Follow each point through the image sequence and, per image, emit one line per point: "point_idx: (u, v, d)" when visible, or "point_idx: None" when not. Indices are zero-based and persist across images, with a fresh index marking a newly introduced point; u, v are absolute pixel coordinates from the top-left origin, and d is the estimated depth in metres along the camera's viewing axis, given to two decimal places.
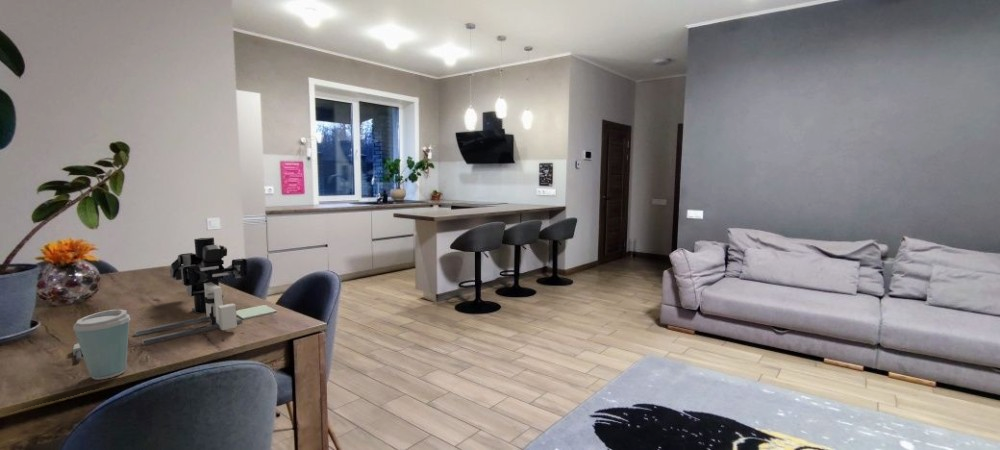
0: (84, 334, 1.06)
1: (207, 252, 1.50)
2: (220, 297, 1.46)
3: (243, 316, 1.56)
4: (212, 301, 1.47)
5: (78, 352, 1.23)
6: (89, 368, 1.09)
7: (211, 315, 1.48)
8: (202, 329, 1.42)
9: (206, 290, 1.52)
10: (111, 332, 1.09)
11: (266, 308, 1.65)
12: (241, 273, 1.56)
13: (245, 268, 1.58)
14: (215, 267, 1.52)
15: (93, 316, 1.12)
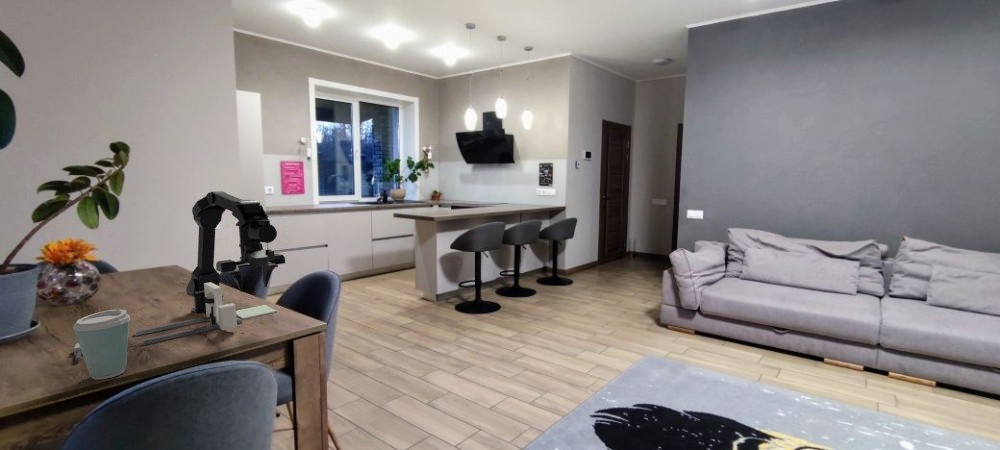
0: (84, 334, 1.06)
1: None
2: (220, 297, 1.46)
3: (243, 316, 1.56)
4: (212, 301, 1.47)
5: (78, 352, 1.23)
6: (89, 368, 1.09)
7: (211, 315, 1.48)
8: (202, 329, 1.42)
9: (206, 290, 1.52)
10: (111, 332, 1.09)
11: (266, 308, 1.65)
12: None
13: None
14: None
15: (93, 316, 1.12)
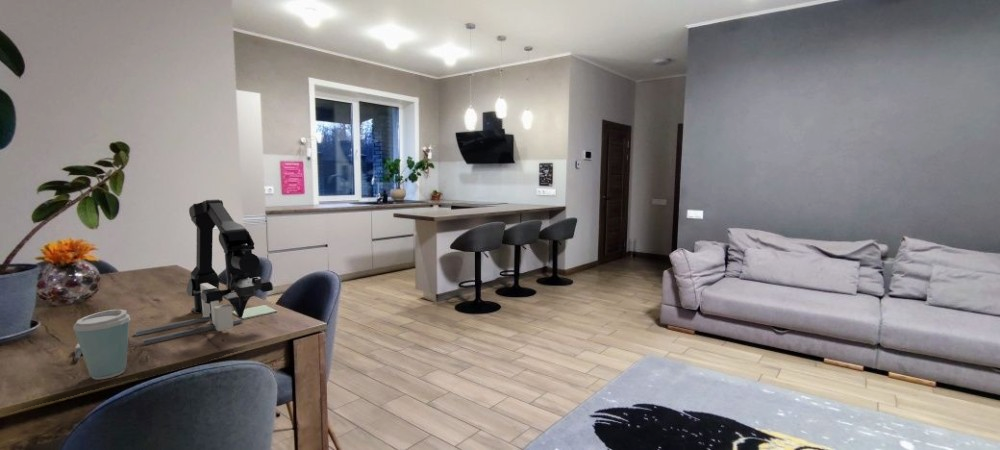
0: (84, 333, 1.06)
1: None
2: None
3: (243, 316, 1.56)
4: None
5: (78, 351, 1.23)
6: (89, 368, 1.09)
7: (211, 315, 1.48)
8: (202, 329, 1.42)
9: None
10: (111, 332, 1.09)
11: (266, 308, 1.65)
12: None
13: None
14: None
15: (93, 316, 1.12)
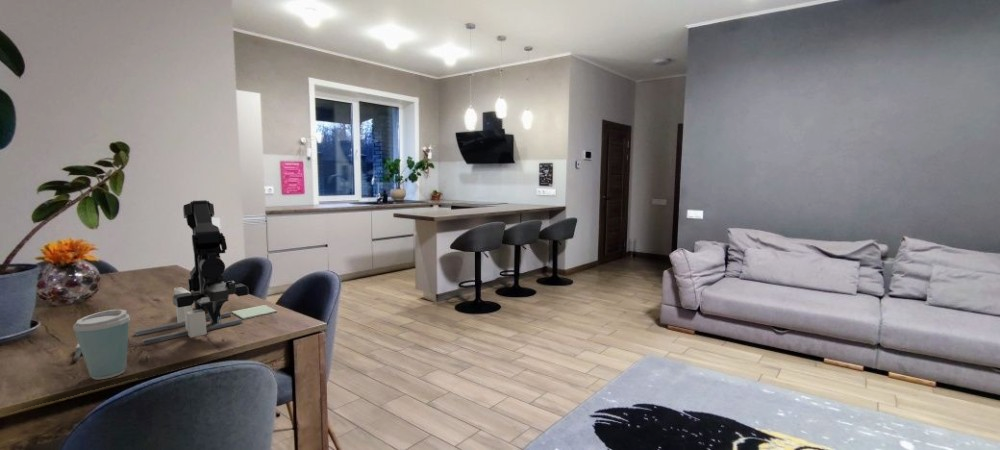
0: (84, 334, 1.06)
1: None
2: None
3: (243, 316, 1.56)
4: None
5: (78, 351, 1.23)
6: (89, 368, 1.09)
7: None
8: None
9: None
10: (111, 332, 1.09)
11: (266, 308, 1.65)
12: None
13: None
14: None
15: (93, 316, 1.12)
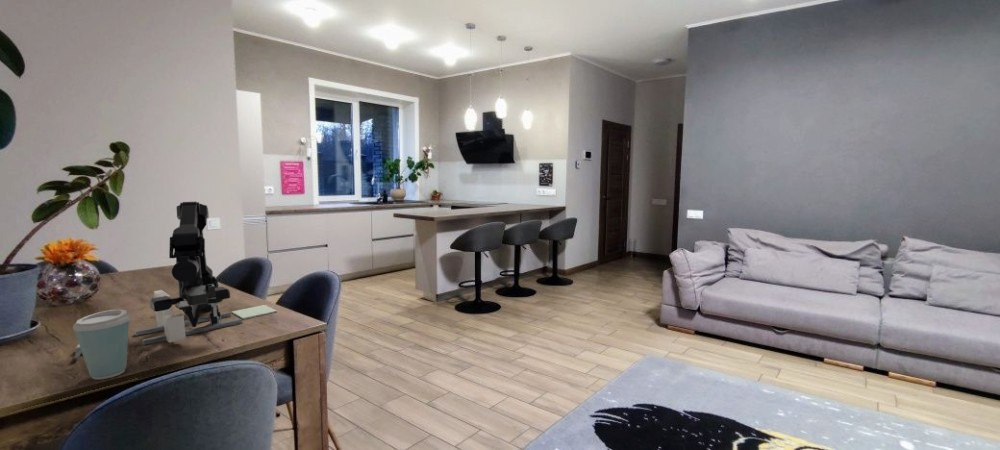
0: (84, 333, 1.06)
1: None
2: None
3: (243, 316, 1.56)
4: (212, 301, 1.47)
5: (78, 351, 1.23)
6: (89, 368, 1.09)
7: (211, 315, 1.48)
8: (202, 329, 1.42)
9: None
10: (111, 332, 1.09)
11: (266, 308, 1.65)
12: None
13: None
14: None
15: (93, 316, 1.12)
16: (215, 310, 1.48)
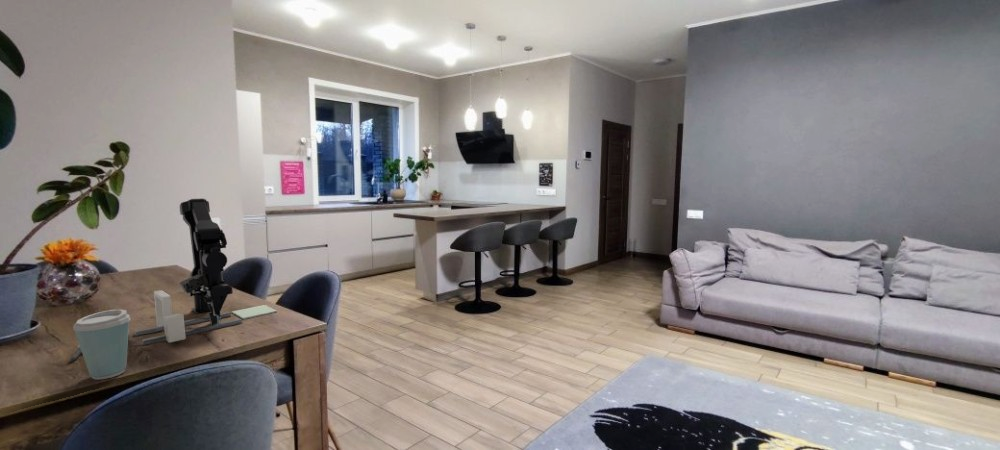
0: (84, 333, 1.06)
1: None
2: (169, 306, 1.36)
3: (243, 316, 1.56)
4: None
5: (78, 350, 1.24)
6: (89, 368, 1.09)
7: (211, 314, 1.48)
8: (202, 329, 1.42)
9: (156, 298, 1.42)
10: (111, 332, 1.09)
11: (266, 308, 1.65)
12: (223, 294, 1.47)
13: None
14: None
15: (93, 316, 1.12)
16: None
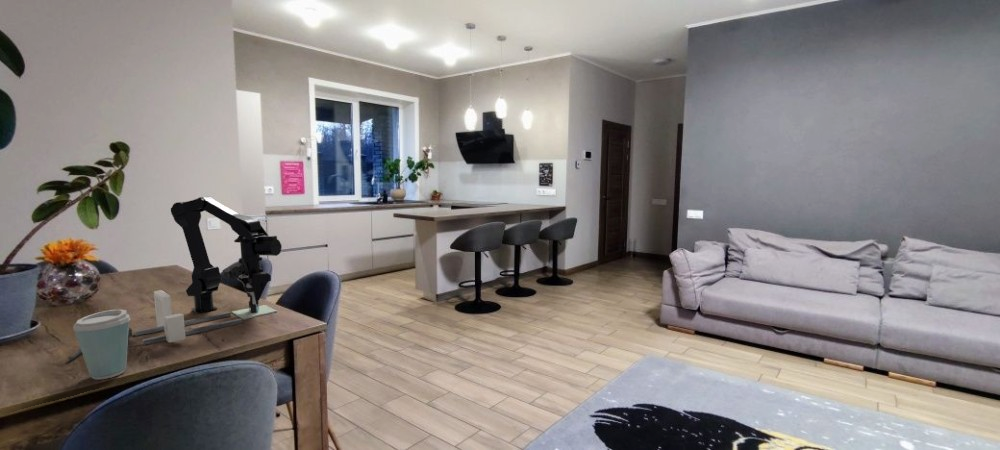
0: (84, 334, 1.06)
1: None
2: (169, 306, 1.36)
3: (243, 316, 1.56)
4: (251, 290, 1.58)
5: (79, 349, 1.25)
6: (89, 368, 1.09)
7: (250, 303, 1.60)
8: (202, 329, 1.42)
9: (156, 298, 1.42)
10: (111, 332, 1.09)
11: (266, 308, 1.65)
12: (263, 282, 1.58)
13: None
14: (248, 276, 1.59)
15: (93, 316, 1.12)
16: (254, 298, 1.60)
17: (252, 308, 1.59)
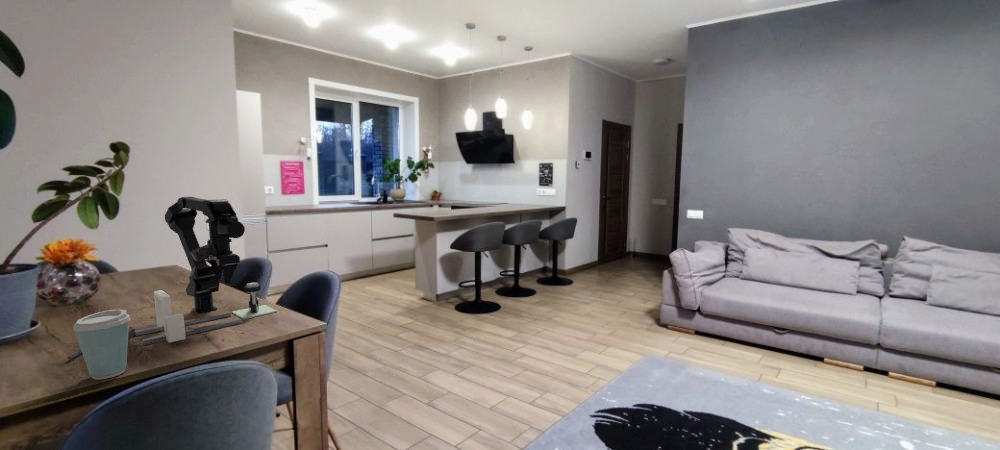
0: (84, 334, 1.06)
1: None
2: (169, 306, 1.36)
3: (243, 316, 1.56)
4: (251, 290, 1.58)
5: (80, 349, 1.25)
6: (89, 368, 1.09)
7: (250, 303, 1.60)
8: (202, 329, 1.42)
9: (156, 298, 1.42)
10: (111, 332, 1.09)
11: (266, 308, 1.65)
12: (233, 265, 1.53)
13: None
14: (216, 257, 1.55)
15: (93, 316, 1.12)
16: (254, 298, 1.60)
17: (252, 308, 1.59)
